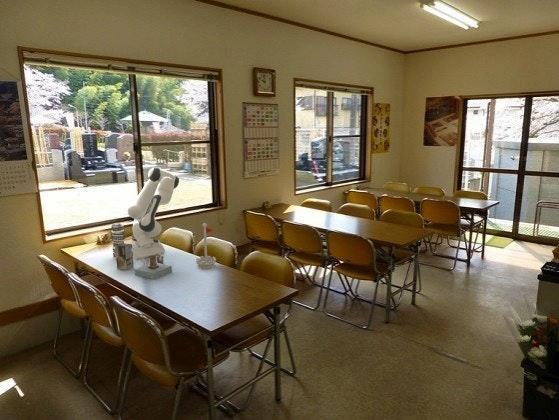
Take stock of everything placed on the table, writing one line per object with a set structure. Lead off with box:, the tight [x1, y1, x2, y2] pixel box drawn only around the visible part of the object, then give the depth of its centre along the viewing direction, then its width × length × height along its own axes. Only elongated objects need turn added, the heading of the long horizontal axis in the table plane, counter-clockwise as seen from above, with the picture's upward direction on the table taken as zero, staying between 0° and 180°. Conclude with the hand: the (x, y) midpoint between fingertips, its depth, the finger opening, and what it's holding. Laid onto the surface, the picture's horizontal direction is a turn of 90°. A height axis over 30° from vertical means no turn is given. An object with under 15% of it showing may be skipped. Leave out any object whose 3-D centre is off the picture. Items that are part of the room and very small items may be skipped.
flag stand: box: [195, 222, 217, 270], centre depth 270 cm, size 13×13×30 cm
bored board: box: [134, 263, 173, 280], centre depth 259 cm, size 16×16×4 cm
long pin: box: [149, 256, 157, 269], centre depth 258 cm, size 4×4×11 cm
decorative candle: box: [110, 222, 126, 260], centre depth 290 cm, size 9×9×25 cm
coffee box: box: [115, 242, 134, 271], centre depth 268 cm, size 9×6×16 cm
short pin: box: [156, 255, 164, 264], centre depth 273 cm, size 4×4×6 cm
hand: (153, 262), depth 257 cm, fingers open, 8 cm apart
